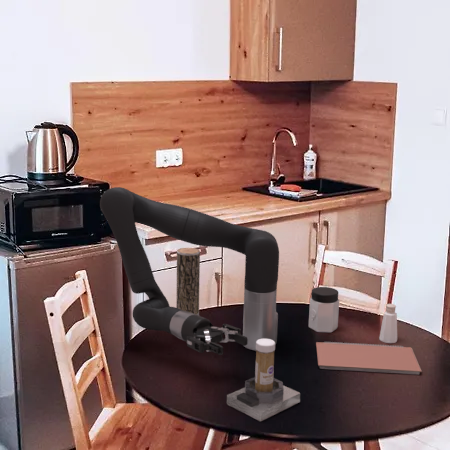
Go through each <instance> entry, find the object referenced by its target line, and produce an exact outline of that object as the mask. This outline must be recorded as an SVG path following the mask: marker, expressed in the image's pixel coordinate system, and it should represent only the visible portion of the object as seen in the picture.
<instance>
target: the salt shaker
mask: <svg viewBox="0 0 450 450" xmlns="http://www.w3.org/2000/svg"><path fill="white" fill-rule="evenodd" d="M385 307H386V308H385V311H384V313H383V316H382V323H381V327H380V332H379V338H378V339H379V341H380V342H383V343H387V344H394V343H397V341H398V315H397V312H396V307H397V306H396V304H393V303H387V304H386V306H385Z"/></svg>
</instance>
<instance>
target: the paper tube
mask: <svg viewBox="0 0 450 450" xmlns="http://www.w3.org/2000/svg"><path fill="white" fill-rule="evenodd" d="M200 251H201V250H200V249H198V248H195V247H181V248H177V249H176V307H175V308H178V309H181V310H183V311H186V312H191V313H193V314H196V315H198V316H200V277H201V276H200V271H201V270H200V267H201V266H200V265H201V259H200V258H201V252H200Z"/></svg>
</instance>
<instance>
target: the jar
mask: <svg viewBox="0 0 450 450" xmlns="http://www.w3.org/2000/svg"><path fill="white" fill-rule="evenodd" d="M310 295H311V298H309V309H308V310H309V313H308V328H310V329H311V330H313V331H315V332H317V333H332V332H334V331H335V330H337V329H338V327H339V310H340V309H339V308H340V299H339V290H338V289H335V288H333V287H330V286H329V287H327V286H317V287H315V288H312V289H311V294H310Z"/></svg>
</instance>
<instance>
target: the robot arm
mask: <svg viewBox="0 0 450 450" xmlns="http://www.w3.org/2000/svg"><path fill="white" fill-rule="evenodd" d="M99 207H100V211H101V213H102V214H103V216H104V217H105V220H106V222H107V224H108V225H109V227H110V229H111V231H112V235H113V237H114V239H115V242H116V245H117V246H118V249H119V253H120V257H121V259H122V263H123V267H124V270H125V275H126V277H127V280H128V284H129V287H130V289H131V291H132V293H134V294H139V295H140V294H144V293H145V295H146V296H147V297H148V298H147V299H146V300H143V301H141V302H139V303H137V304H135V306H134V307H133V309H132V318H133V320H134V322H135V323H136V324H137V325H138V326H139V327H140V328H143V329H145V330H152V331H157V332H159V331H160V332H165V333H168V334H170V335H172V336H174V337H176V338H178V339H179V340H182V341H183V342H186V347H188V348H190V349H192V350H194V351H196V352H198V353H200V354H202V353H205V351H206V352H207V353H208V352H210V353H211V352H212V353H214V354H217V355H219V356H222V355H223V354H224V347H223V346H222V345H221V344H219V343H228V342H235V343H237V344H239V345H242V346H243V347H245V349H248V350H252V351H256V341H257V340H259V339H271V340H273V341H274V342H275V345H276V344H278V342H277V341H278V322H279V321H278V319H279V314H278V312H277V291H278V289H277V288H278V281H279V268H280V266H279V265H280V249H279V244H278V242H277V239H276V237H275V236H274V235H273V234H272V233H270V232H269V231H266V230H263V229H257V228H252V227H248V226H242V225H239V224H235V223H232V222H229V221H226V220H223V219H220V218H218V217H216V216H212V215H210V214H206V213H204V212H201V211H198V210H196V209H191V208H189V207H185V206H180V205H176V204H171V203H165V202H159V201H155V200H152V199H150V198H147V197H144V196H142V195H140V194H138V193H135V192H133V191H131V190H129V189H127V188H125V187H120V186H119V187H118V186H114V187H111V188H108V189H107V190H105V191H104V192H103V194H102V195H101V198H100V199H99ZM136 224H140V225H144V226H146V227H150V228H151V229H154V230H155V231H158V232H160V233H162V234H164V235H166V236H168V237H170V238H174V239H175V240H179V241H182V242H184V243H188V244H191V245H195V246H200V247H209V248H211V247H214V248H224V249H228V250H231V251H235V252H238V253H239V254H242V255H245V261H244V262H245V265H244V266H245V267H244V269H245V270H244V289H243V290H244V292H243V319H242V324H243V325H242V329H241V328H239V327H235V326H233V325H230V324H227V323H223V324H222V327H218V326H214V325H213V324H212V322H211V321H210V319H208V318H206V317H203V316H201V315H199V316H198V315H196V314H193V313H191V312H186V311H183V310H181V309H178V308H176V307H175V306H170V304H169V301H168V299H167V297H166V296H165V294H164V293H163V291H162V289H161V288H160V286H159V284H158V283H157V282H156V279H155V276H154V272H153V269H152V267H151V263H150V260H149V258H148V255H147V253H146V251H145V248H144V246H143V243H142V241H141V239H140V236H139V233H138V230H137V226H136ZM241 331H242V333H241ZM223 335H225V338H223V337H224V336H223Z"/></svg>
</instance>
